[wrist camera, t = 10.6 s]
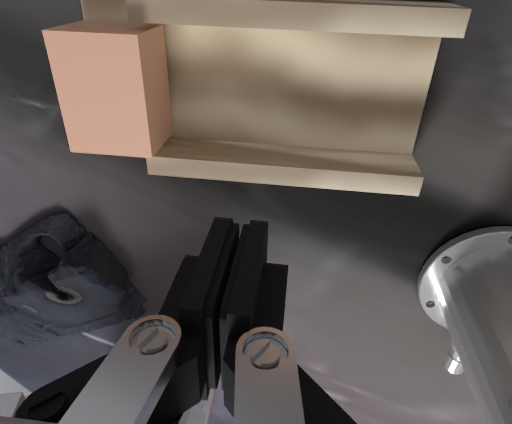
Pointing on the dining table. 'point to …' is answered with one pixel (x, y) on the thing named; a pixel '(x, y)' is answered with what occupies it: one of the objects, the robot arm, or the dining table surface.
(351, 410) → the dining table surface
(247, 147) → the chute
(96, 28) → the block
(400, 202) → the dining table surface
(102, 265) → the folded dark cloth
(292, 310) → the dining table surface
